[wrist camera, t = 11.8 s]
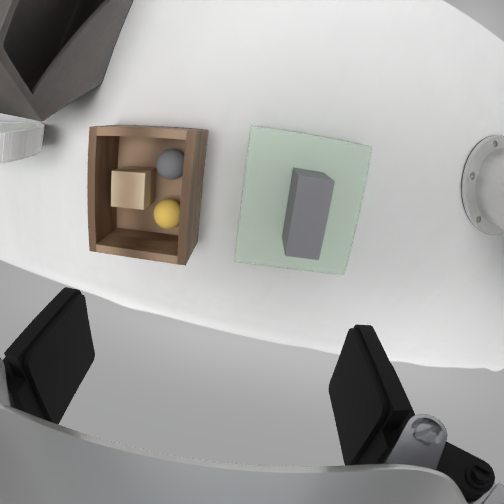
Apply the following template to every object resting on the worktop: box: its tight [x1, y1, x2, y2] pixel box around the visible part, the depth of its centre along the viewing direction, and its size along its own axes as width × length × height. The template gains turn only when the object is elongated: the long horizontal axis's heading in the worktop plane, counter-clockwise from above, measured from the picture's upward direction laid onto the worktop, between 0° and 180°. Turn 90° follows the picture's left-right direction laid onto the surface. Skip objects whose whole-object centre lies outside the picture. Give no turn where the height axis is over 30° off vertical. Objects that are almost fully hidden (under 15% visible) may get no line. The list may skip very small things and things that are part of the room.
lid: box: [234, 126, 372, 275], centre depth 30 cm, size 12×14×7 cm
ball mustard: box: [154, 199, 180, 229], centre depth 31 cm, size 3×3×3 cm
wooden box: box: [88, 125, 208, 265], centre depth 30 cm, size 10×12×6 cm
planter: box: [0, 0, 133, 121], centre depth 18 cm, size 17×8×21 cm
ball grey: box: [156, 149, 184, 180], centre depth 29 cm, size 3×3×3 cm
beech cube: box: [111, 166, 157, 210], centre depth 30 cm, size 4×4×4 cm
